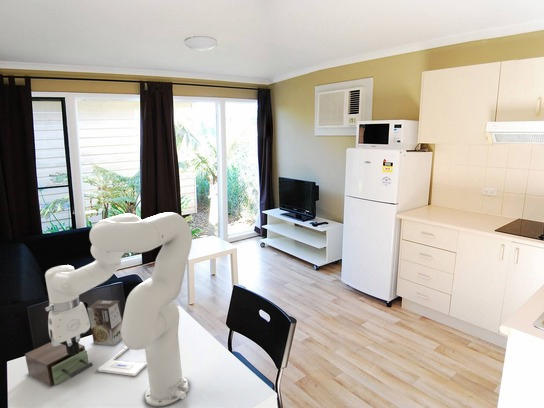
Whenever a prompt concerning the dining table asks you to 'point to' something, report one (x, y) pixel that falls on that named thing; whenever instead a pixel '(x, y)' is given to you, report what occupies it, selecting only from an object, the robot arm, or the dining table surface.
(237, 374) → the dining table surface
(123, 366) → the photo frame
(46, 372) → the cabinet
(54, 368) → the drawer
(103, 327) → the coffee box
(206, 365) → the dining table surface
